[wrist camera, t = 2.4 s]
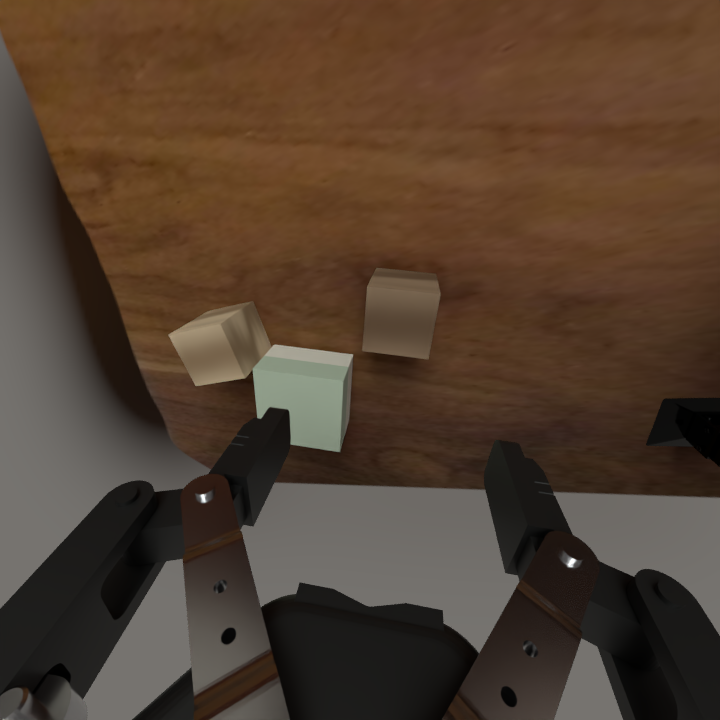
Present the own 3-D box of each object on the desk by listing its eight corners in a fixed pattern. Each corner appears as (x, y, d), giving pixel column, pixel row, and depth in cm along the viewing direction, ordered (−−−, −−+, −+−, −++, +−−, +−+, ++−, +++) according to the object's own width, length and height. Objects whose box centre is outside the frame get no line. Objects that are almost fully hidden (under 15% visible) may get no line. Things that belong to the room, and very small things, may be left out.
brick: (208, 310, 32) (168, 334, 27) (253, 300, 31) (220, 323, 26) (229, 355, 34) (195, 386, 29) (272, 347, 33) (245, 378, 28)
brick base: (274, 344, 33) (252, 368, 28) (353, 354, 32) (343, 381, 28) (278, 409, 37) (259, 439, 32) (349, 419, 36) (339, 452, 31)
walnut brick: (376, 267, 28) (367, 286, 23) (435, 273, 27) (440, 294, 22) (371, 322, 30) (362, 350, 25) (426, 328, 30) (428, 359, 25)
